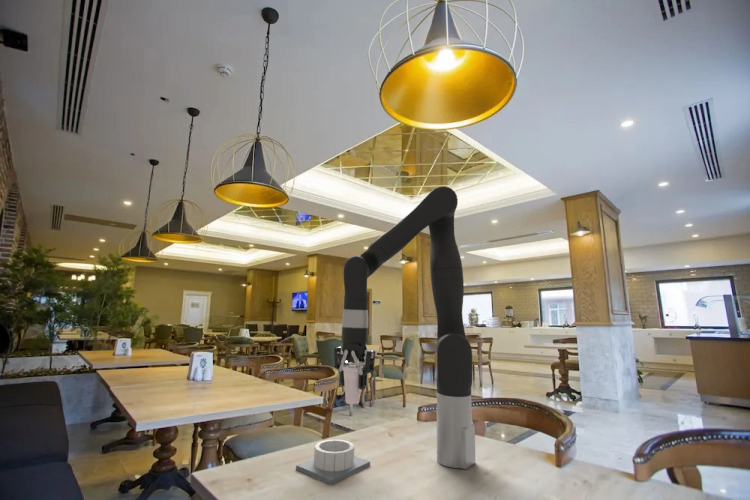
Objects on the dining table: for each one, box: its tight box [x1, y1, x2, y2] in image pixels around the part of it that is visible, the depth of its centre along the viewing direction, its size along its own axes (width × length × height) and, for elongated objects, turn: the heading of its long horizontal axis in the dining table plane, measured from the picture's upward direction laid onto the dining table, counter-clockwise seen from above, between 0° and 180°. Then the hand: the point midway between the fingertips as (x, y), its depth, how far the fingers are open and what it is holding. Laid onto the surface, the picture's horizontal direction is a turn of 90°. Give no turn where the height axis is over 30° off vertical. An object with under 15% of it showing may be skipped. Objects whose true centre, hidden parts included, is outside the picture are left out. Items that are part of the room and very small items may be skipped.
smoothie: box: [342, 364, 362, 405], centre depth 104 cm, size 6×6×14 cm
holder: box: [295, 439, 371, 485], centre depth 92 cm, size 12×14×5 cm
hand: (352, 386), depth 103 cm, fingers closed on smoothie, 6 cm apart
